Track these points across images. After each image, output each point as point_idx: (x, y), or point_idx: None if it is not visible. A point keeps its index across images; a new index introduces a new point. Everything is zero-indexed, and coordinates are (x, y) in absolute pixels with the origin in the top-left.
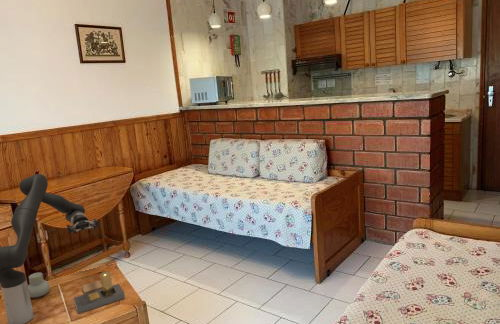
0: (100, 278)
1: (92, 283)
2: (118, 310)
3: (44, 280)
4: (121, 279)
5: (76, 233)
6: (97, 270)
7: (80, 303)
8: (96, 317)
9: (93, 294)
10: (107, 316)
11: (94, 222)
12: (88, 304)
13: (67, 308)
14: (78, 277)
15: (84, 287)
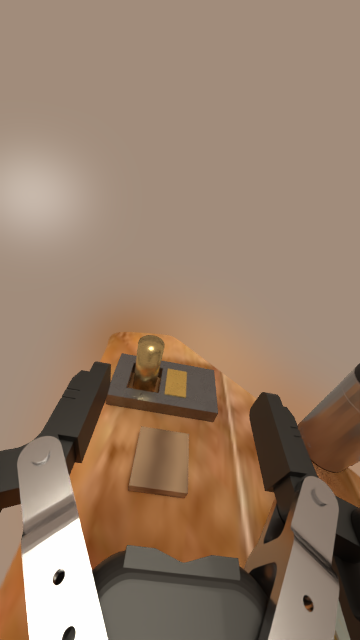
0: (162, 353)
1: (154, 477)
2: None
3: (347, 636)
4: None
5: (251, 409)
6: None
7: (206, 378)
8: (184, 349)
9: (175, 389)
10: (169, 340)
11: (21, 452)
12: (192, 367)
13: (228, 414)
14: None
15: (182, 468)
